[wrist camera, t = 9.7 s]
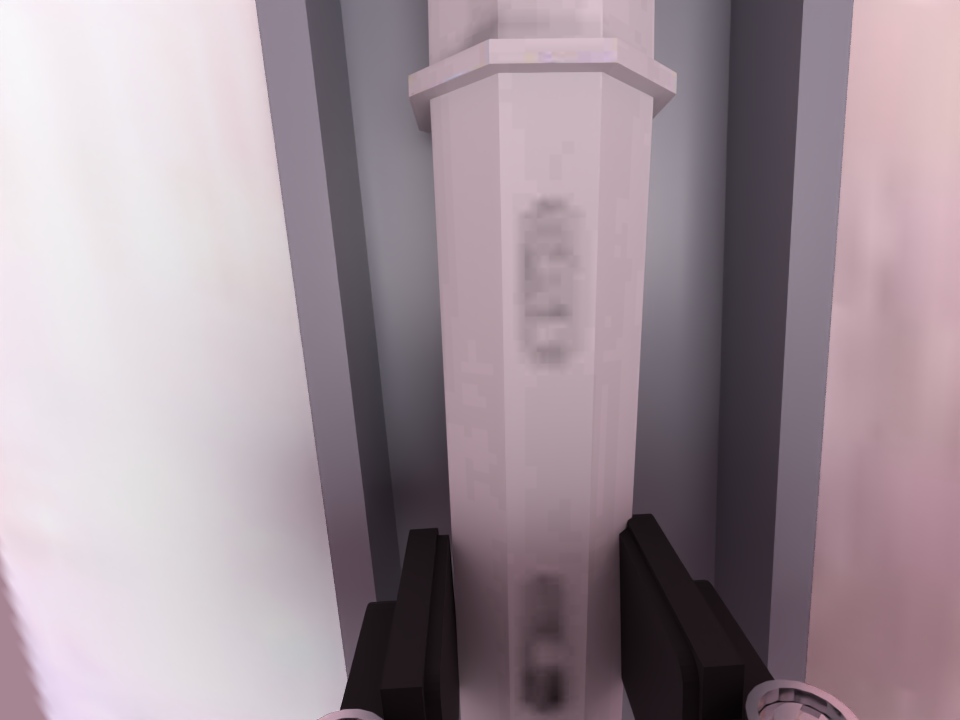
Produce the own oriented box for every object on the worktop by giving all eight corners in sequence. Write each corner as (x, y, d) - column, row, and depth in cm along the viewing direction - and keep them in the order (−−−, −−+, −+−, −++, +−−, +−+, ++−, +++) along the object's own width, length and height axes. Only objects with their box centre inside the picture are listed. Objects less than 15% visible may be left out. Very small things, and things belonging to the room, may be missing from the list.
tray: (721, 936, 19) (775, 1095, 15) (419, 949, 19) (406, 1110, 15) (763, -159, 12) (875, -311, 9) (294, -122, 12) (220, -257, 9)
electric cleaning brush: (745, -220, 8) (707, 1345, 10) (622, 20, 15) (615, 935, 17) (358, -218, 8) (404, 1353, 10) (411, 22, 15) (432, 939, 17)
